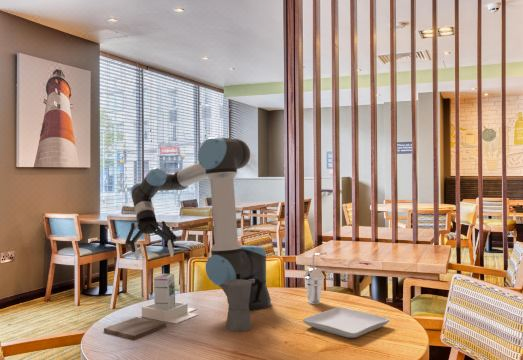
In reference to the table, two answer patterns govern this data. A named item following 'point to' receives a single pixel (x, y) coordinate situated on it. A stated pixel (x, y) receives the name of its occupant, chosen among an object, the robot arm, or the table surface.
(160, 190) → the robot arm
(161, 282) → the syrup box
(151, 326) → the walnut board
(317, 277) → the cup with straw
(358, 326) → the salad plate
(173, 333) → the table surface
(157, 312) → the open carton
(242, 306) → the coffeepot
